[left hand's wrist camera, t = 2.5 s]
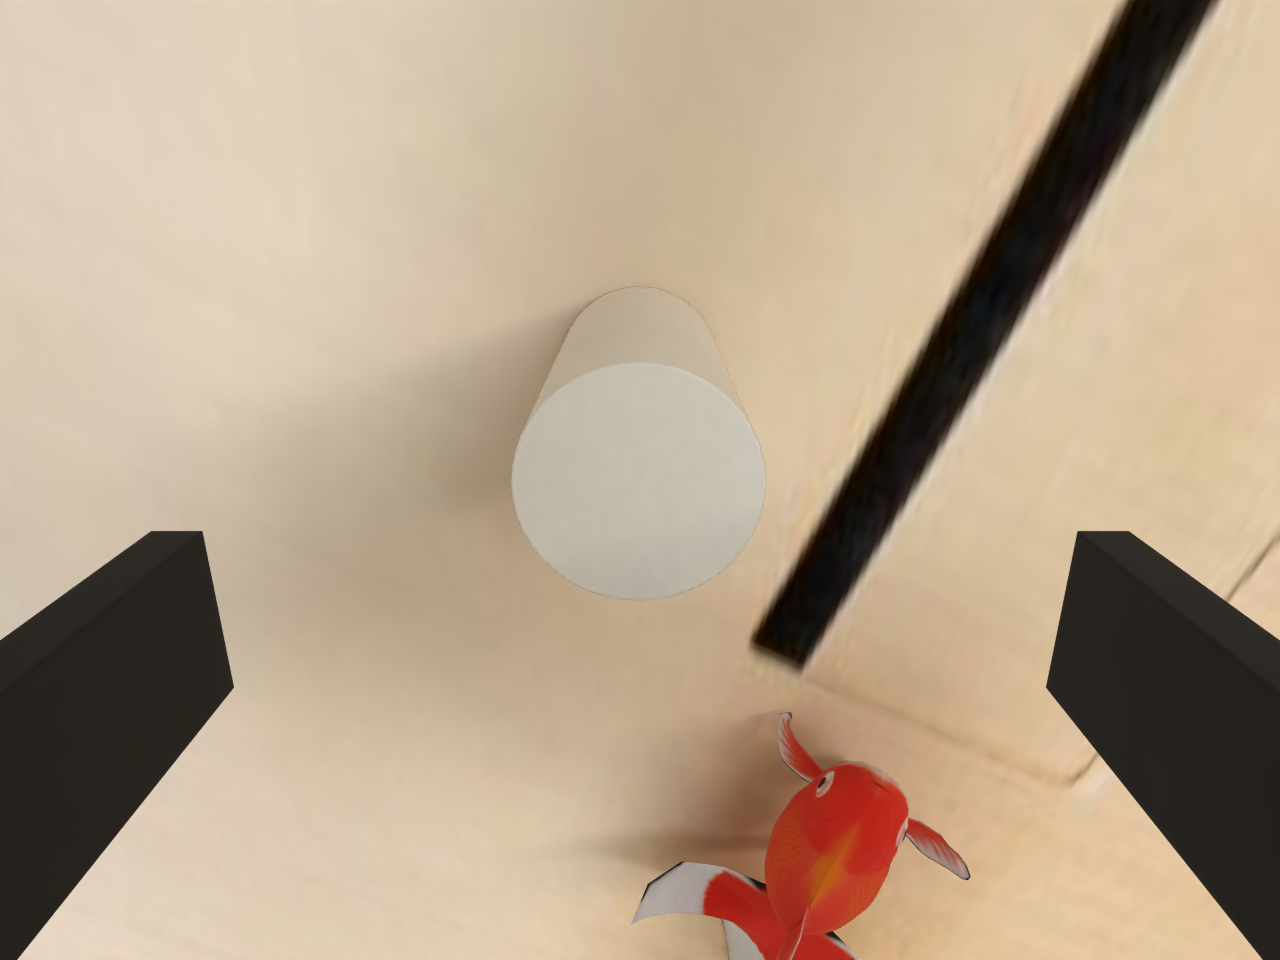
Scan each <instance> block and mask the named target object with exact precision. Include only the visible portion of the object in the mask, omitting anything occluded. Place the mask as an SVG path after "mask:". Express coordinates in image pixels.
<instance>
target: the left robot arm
mask: <svg viewBox="0 0 1280 960" xmlns="http://www.w3.org/2000/svg"><path fill="white" fill-rule="evenodd" d="M233 688H234V685H233V680H232V675H231V670H230V665H229V660H228V656H227V651H226V646H225V641H224V636H223V631H222V626H221V621H220V616H219V611H218V606H217V601H216V596H215V591H214V586H213V581H212V576H211V571H210V566H209V562H208V557H207V552H206V547H205V542H204V537H203V532H202V531H151V532H149V533H148V534H147V535H145V536H144V537H143V538H141V539H140V540H138V541H137V542H136V543H134V544H133V545H131V546H130V547H129V548H127V549H126V550H125V551H123V552H122V553H120V554H119V555H118V556H116V557H115V558H114V559H112V560H111V561H109V562H108V563H107V564H105V565H104V566H102V567H101V568H100V569H98V570H97V571H96V572H94V573H93V574H91V575H90V576H89V577H87V578H86V579H84V580H83V581H82V582H80V583H79V584H78V585H76V586H75V587H73V588H72V589H71V590H69V591H68V592H67V593H65V594H64V595H62V596H61V597H60V598H58V599H57V600H55V601H54V602H53V603H51V604H50V605H49V606H47V607H46V608H44V609H43V610H42V611H40V612H39V613H37V614H36V615H35V616H33V617H32V618H31V619H29V620H28V621H26V622H25V623H24V624H22V625H21V626H20V627H18V628H17V629H15V630H14V631H13V632H11V633H10V634H8V635H7V636H6V637H4V638H3V639H2V640H0V960H17V959H18V958H19V957H20V956H21V954H22V953H23V952H24V950H25V949H26V948H27V947H28V945H29V944H30V943H31V942H32V940H33V939H34V938H35V937H36V935H37V934H38V933H39V932H40V930H41V929H42V928H43V927H44V925H45V924H46V923H47V922H48V920H49V919H50V918H51V917H52V915H53V914H54V913H55V912H56V910H57V909H58V908H59V907H60V905H61V904H62V903H63V902H64V900H65V899H66V898H67V897H68V895H69V894H70V893H71V891H72V890H73V889H74V888H75V886H76V885H77V884H78V883H79V881H80V880H81V879H82V878H83V876H84V875H85V874H86V873H87V871H88V870H89V869H90V868H91V866H92V865H93V864H94V863H95V861H96V860H97V859H98V858H99V856H100V855H101V854H102V853H103V851H104V850H105V849H106V848H107V846H108V845H109V844H110V843H111V841H112V840H113V839H114V837H115V836H116V835H117V834H118V832H119V831H120V830H121V829H122V827H123V826H124V825H125V824H126V822H127V821H128V820H129V819H130V817H131V816H132V815H133V814H134V812H135V811H136V810H137V809H138V807H139V806H140V805H141V804H142V802H143V801H144V800H145V799H146V797H147V796H148V795H149V794H150V792H151V791H152V790H153V789H154V787H155V786H156V785H157V783H158V782H159V781H160V780H161V778H162V777H163V776H164V775H165V773H166V772H167V771H168V770H169V768H170V767H171V766H172V765H173V763H174V762H175V761H176V760H177V758H178V757H179V756H180V755H181V753H182V752H183V751H184V750H185V748H186V747H187V746H188V745H189V743H190V742H191V741H192V740H193V738H194V737H195V736H196V735H197V733H198V732H199V731H200V730H201V728H202V727H203V726H204V724H205V723H206V722H207V721H208V719H209V718H210V717H211V716H212V714H213V713H214V712H215V711H216V709H217V708H218V707H219V706H220V704H221V703H222V702H223V701H224V699H225V698H226V697H227V696H228V694H229V693H230V692H231V691H232V689H233ZM1046 688H1047V689H1048V691H1049V692H1050V693H1051V694H1052V696H1053V697H1054V698H1055V699H1056V701H1057V702H1058V703H1059V704H1060V706H1061V707H1062V708H1063V709H1064V711H1065V712H1066V713H1067V714H1068V716H1069V717H1070V718H1071V719H1072V721H1073V722H1074V723H1075V724H1076V726H1077V727H1078V728H1079V730H1080V731H1081V732H1082V733H1083V735H1084V736H1085V737H1086V738H1087V740H1088V741H1089V742H1090V743H1091V745H1092V746H1093V747H1094V748H1095V750H1096V751H1097V752H1098V753H1099V755H1100V756H1101V757H1102V758H1103V760H1104V761H1105V762H1106V763H1107V765H1108V766H1109V767H1110V768H1111V770H1112V771H1113V772H1114V773H1115V775H1116V776H1117V777H1118V778H1119V780H1120V781H1121V782H1122V784H1123V785H1124V786H1125V787H1126V789H1127V790H1128V791H1129V792H1130V794H1131V795H1132V796H1133V797H1134V799H1135V800H1136V801H1137V802H1138V804H1139V805H1140V806H1141V807H1142V809H1143V810H1144V811H1145V812H1146V814H1147V815H1148V816H1149V817H1150V819H1151V820H1152V821H1153V822H1154V824H1155V825H1156V826H1157V827H1158V829H1159V830H1160V831H1161V832H1162V834H1163V835H1164V836H1165V837H1166V839H1167V840H1168V841H1169V843H1170V844H1171V845H1172V846H1173V848H1174V849H1175V850H1176V851H1177V853H1178V854H1179V855H1180V856H1181V858H1182V859H1183V860H1184V861H1185V863H1186V864H1187V865H1188V866H1189V868H1190V869H1191V870H1192V871H1193V873H1194V874H1195V875H1196V876H1197V878H1198V879H1199V880H1200V881H1201V883H1202V884H1203V885H1204V886H1205V888H1206V889H1207V890H1208V891H1209V893H1210V894H1211V895H1212V897H1213V898H1214V899H1215V900H1216V902H1217V903H1218V904H1219V905H1220V907H1221V908H1222V909H1223V910H1224V912H1225V913H1226V914H1227V915H1228V917H1229V918H1230V919H1231V920H1232V922H1233V923H1234V924H1235V925H1236V927H1237V928H1238V929H1239V930H1240V932H1241V933H1242V934H1243V935H1244V937H1245V938H1246V939H1247V940H1248V942H1249V943H1250V944H1251V945H1252V947H1253V948H1254V949H1255V951H1256V952H1257V953H1258V954H1259V956H1260V957H1261V958H1262V959H1263V960H1280V640H1278V639H1277V638H1276V637H1274V636H1273V635H1272V634H1270V633H1269V632H1267V631H1266V630H1265V629H1263V628H1262V627H1260V626H1259V625H1258V624H1256V623H1255V622H1254V621H1252V620H1251V619H1249V618H1248V617H1247V616H1245V615H1244V614H1243V613H1241V612H1240V611H1238V610H1237V609H1236V608H1234V607H1233V606H1231V605H1230V604H1229V603H1227V602H1226V601H1225V600H1223V599H1222V598H1220V597H1219V596H1218V595H1216V594H1215V593H1213V592H1212V591H1211V590H1209V589H1208V588H1207V587H1205V586H1204V585H1202V584H1201V583H1200V582H1198V581H1197V580H1196V579H1194V578H1193V577H1191V576H1190V575H1189V574H1187V573H1186V572H1184V571H1183V570H1182V569H1180V568H1179V567H1178V566H1176V565H1175V564H1173V563H1172V562H1171V561H1169V560H1168V559H1166V558H1165V557H1164V556H1162V555H1161V554H1160V553H1158V552H1157V551H1155V550H1154V549H1153V548H1151V547H1150V546H1149V545H1147V544H1146V543H1144V542H1143V541H1142V540H1140V539H1139V538H1137V537H1136V536H1135V535H1133V534H1132V533H1131V532H1129V531H1078V532H1077V537H1076V542H1075V547H1074V552H1073V557H1072V562H1071V566H1070V571H1069V576H1068V581H1067V586H1066V591H1065V596H1064V601H1063V606H1062V611H1061V616H1060V621H1059V626H1058V631H1057V636H1056V641H1055V646H1054V651H1053V656H1052V660H1051V665H1050V670H1049V675H1048V680H1047V685H1046Z"/></svg>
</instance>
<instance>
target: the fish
mask: <svg viewBox="0 0 1280 960" xmlns="http://www.w3.org/2000/svg"><path fill="white" fill-rule="evenodd" d="M791 718H792V715H791V713H789V712H787V713H782V714H780V715H779V722H778V729H777V735H778V745H779V751H780V755H781V758H782V760H783V761H784V762H785V763H786V765H788V766H789V767H790V768H791V769H792V770H793V771H794V772H795V773H796V774H798V775H799V776H800V777H801V778H802V779H804V780H805V781H807V782H809V783H810V784H809V785H808V786H806V787H805V788H803V789H802V790H801V791H799V792H798V793H797V794H796V795H795V796H794V797H793V798H792V800H791V801H790V803H789V804H788V805H787V807H786V808H785V810H784V811H783V813H782V814H781V816H780V817H779V818H778V820H777V822H776V823H775V825H774V828H773V831H772V835H771V838H770V842H769V845H768V849H767V853H766V859H765V879H766V884H764V883H762V882H759V881H757V880H754V879H752V878H750V877H747V876H745V875H742V874H740V873H738V872H735V871H733V870H730V869H728V868H726V867H721V866H715V865H709V864H703V863H693V862H683V861H682V862H680V863H679V864H677V865H676V866H674V867H673V868H671V869H670V870H668V871H667V872H665V873H664V874H662V875H661V876H659V877H658V878H656V879H655V880H653V881H652V882H650V883H649V884H648V885H647V887H646V890H645V892H644V895H643V897H642V899H641V902H640V904H639V907H638V909H637V912H636V914H635V916H634V919H633V921H632V924H633V923H635V922H636V921H638V920H640V919H643V918H647V917H650V916H655V915H661V914H669V913H694V914H702V915H708V916H713V917H717V918H720V919H722V922H723V926H724V930H725V934H726V939H727V948H728V960H860V959H859V958H858V957H857V956H856V955H855V954H854V953H853V952H852V951H851V949H850V948H849V947H848V946H847V945H846V944H845V943H844V942H843V941H842V940H841V939H840V938H839V937H838V936H837V935H836V934H835V933H834V932H833V931H834V930H837V929H839V928H841V927H842V926H844V925H845V924H847V923H849V922H850V921H851V920H853V919H854V918H855V917H857V916H858V915H859V914H861V913H862V912H863V911H864V910H866V909H867V908H868V907H869V905H870V904H871V903H872V902H873V900H874V899H875V897H876V895H877V894H878V892H879V890H880V888H881V886H882V884H883V882H884V880H885V878H886V876H887V874H888V871H889V867H890V864H891V862H892V860H893V858H894V856H895V854H896V852H897V848H898V845H899V844H900V843H901V842H902V841H903V840H904V838H905V836H906V837H907V838H909V839H910V841H911V842H912V843H913V844H914V845H915V846H916V848H917V849H918V850H919V851H920V852H921V853H923V854H924V855H925V856H927V857H928V858H930V859H932V860H933V861H935V862H937V863H938V864H940V865H942V866H944V867H945V868H947V869H948V870H950V871H951V872H953V873H954V874H956V875H957V876H959V877H960V878H962V879H965V880H968V879H969V878H970V877H971V876H970V874H969V871H968V868H967V865H966V864H965V863H964V861H963V860H962V858H961V857H960V855H959V854H958V853H957V852H955V851H954V850H953V849H952V848H951V847H950V846H949V845H948V844H947V843H946V841H945V840H944V839H943V837H942V836H941V835H940V834H939V833H937V832H936V831H934V830H932V829H931V828H929V827H928V826H926V825H925V824H923V823H922V822H920V821H917V820H914V819H911V818H908V804H907V800H906V796H905V795H904V793H903V792H902V790H901V789H900V787H899V786H898V784H897V783H896V781H895V780H893V779H892V778H891V777H890V776H889V775H888V774H886V773H885V772H884V771H883V770H881V769H879V768H877V767H874V766H872V765H869V764H867V763H864V762H854V761H846V762H840V763H839V764H837V765H835V766H833V767H832V768H829V769H827V770H825V771H824V770H823V769H822V768H821V767H820V766H819V765H818V764H817V763H816V762H815V761H814V760H813V759H812V758H811V757H810V755H809V754H808V753H807V752H806V750H805V749H804V748H803V746H802V745H801V744H800V743H799V741H798V740H797V739H796V738H795V737H794V735H793V733H792V731H791V730H790V728H789V721H790V720H791Z"/></svg>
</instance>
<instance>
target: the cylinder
mask: <svg viewBox="0 0 1280 960" xmlns="http://www.w3.org/2000/svg"><path fill="white" fill-rule="evenodd" d="M511 489H512V498H513V504H514V508H515V512H516V515H517V518H518V520H519V523H520V525H521V528H522V530H523V532H524V534H525V535H526V537H527V539H528V541H529V543H530V544H531V545H532V547H533V548H534V549H535V551H536V552H537V553H538V555H539V556H540V557H541V558H542V559H543V560H544V561H545V562H546V563H547V564H548V565H549V566H550V567H551V568H552V569H554V570H555V571H556V572H557V573H559V574H560V575H561V576H562V577H564V578H566V579H567V580H569V581H571V582H572V583H574V584H575V585H577V586H580V587H582V588H584V589H586V590H588V591H591V592H594V593H597V594H600V595H603V596H608V597H613V598H618V599H627V600H652V599H659V598H665V597H670V596H673V595H677V594H680V593H684V592H686V591H688V590H691V589H693V588H696V587H698V586H700V585H701V584H703V583H705V582H707V581H708V580H710V579H712V578H713V577H714V576H716V575H717V574H719V573H720V572H721V571H723V570H724V569H725V568H726V567H727V566H728V565H729V564H730V563H731V562H732V561H733V560H734V559H735V558H736V557H737V556H738V554H739V553H740V552H741V551H742V550H743V548H744V547H745V546H746V544H747V542H748V541H749V539H750V537H751V536H752V534H753V532H754V530H755V528H756V525H757V523H758V521H759V518H760V515H761V511H762V508H763V504H764V497H765V490H766V472H765V465H764V458H763V454H762V451H761V447H760V444H759V441H758V439H757V437H756V434H755V432H754V430H753V428H752V425H751V423H750V421H749V418H748V416H747V414H746V411H745V409H744V407H743V405H742V402H741V400H740V398H739V395H738V393H737V391H736V389H735V386H734V384H733V382H732V379H731V377H730V375H729V372H728V370H727V368H726V366H725V363H724V361H723V359H722V356H721V354H720V352H719V350H718V347H717V345H716V343H715V340H714V338H713V336H712V333H711V331H710V329H709V327H708V326H707V324H706V322H705V321H704V319H703V318H702V317H701V316H700V314H699V313H698V312H697V311H696V310H695V309H694V308H693V307H692V306H691V305H690V304H688V303H687V302H685V301H684V300H683V299H681V298H679V297H678V296H676V295H674V294H672V293H669V292H666V291H664V290H660V289H656V288H651V287H629V288H623V289H619V290H616V291H613V292H610V293H608V294H606V295H603V296H601V297H600V298H598V299H597V300H595V301H594V302H592V303H591V304H590V305H589V306H587V307H586V308H585V309H584V310H583V311H582V312H581V313H580V315H579V316H578V317H577V318H576V320H575V321H574V323H573V324H572V326H571V328H570V330H569V332H568V334H567V336H566V338H565V340H564V342H563V344H562V347H561V349H560V351H559V353H558V355H557V358H556V360H555V362H554V364H553V366H552V368H551V371H550V373H549V375H548V377H547V379H546V381H545V384H544V386H543V388H542V390H541V392H540V394H539V397H538V399H537V401H536V403H535V405H534V408H533V410H532V412H531V414H530V416H529V418H528V421H527V423H526V425H525V427H524V429H523V431H522V434H521V436H520V438H519V441H518V444H517V447H516V450H515V453H514V458H513V464H512V471H511Z"/></svg>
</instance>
